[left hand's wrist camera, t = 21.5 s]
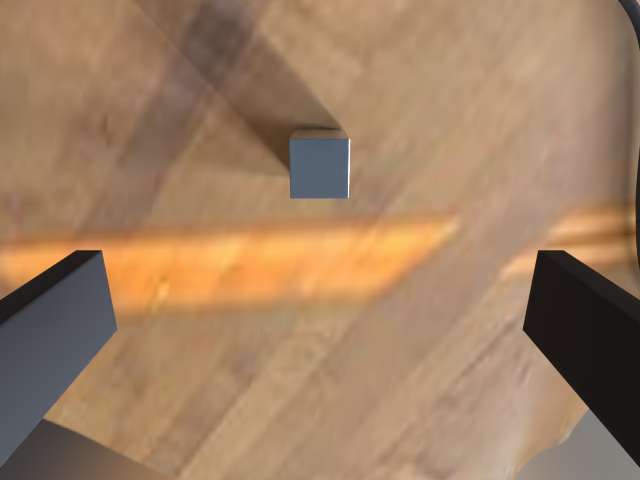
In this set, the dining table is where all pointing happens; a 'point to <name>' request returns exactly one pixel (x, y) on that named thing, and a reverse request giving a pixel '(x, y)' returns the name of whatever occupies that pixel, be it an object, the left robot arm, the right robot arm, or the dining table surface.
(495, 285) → the dining table surface
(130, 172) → the dining table surface
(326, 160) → the block
